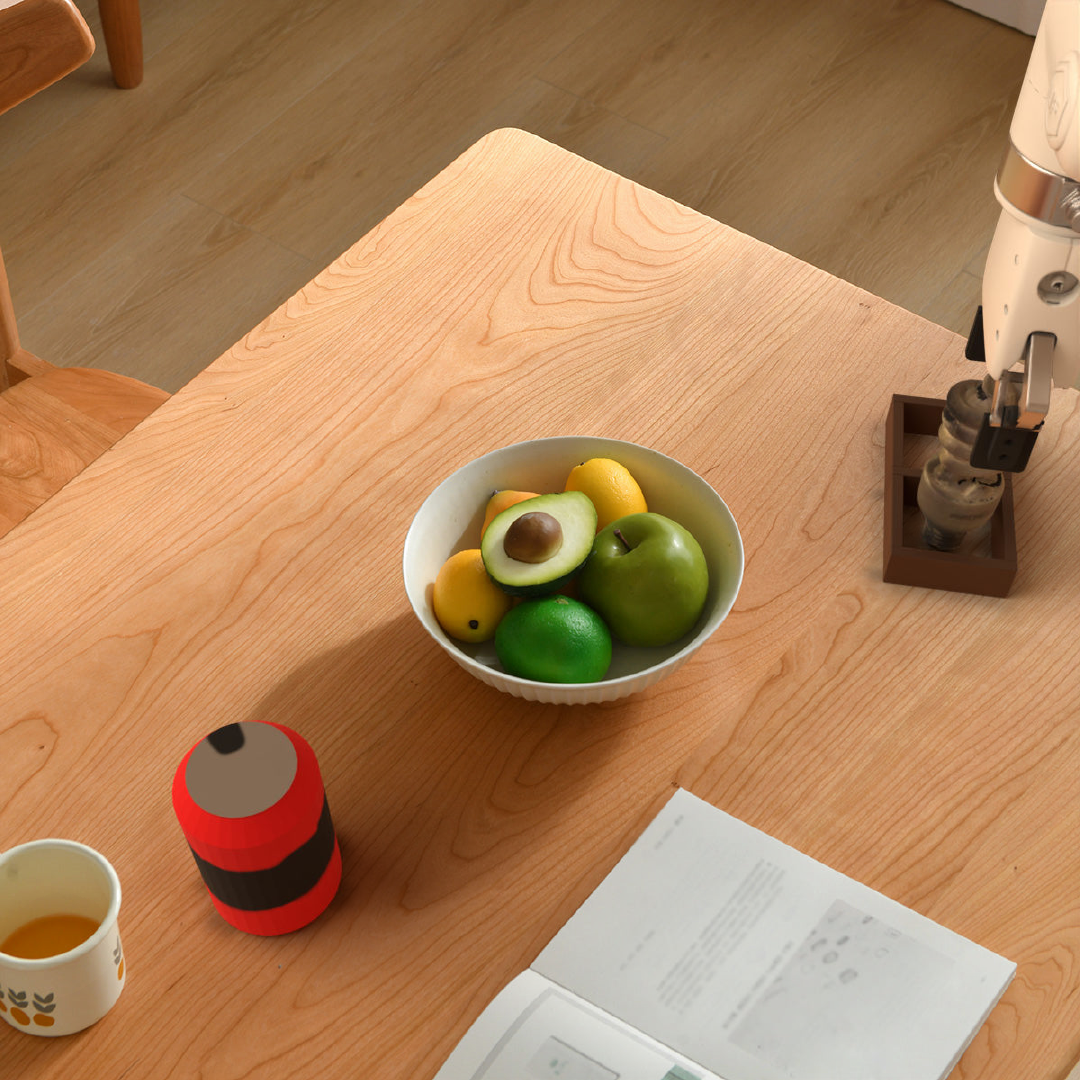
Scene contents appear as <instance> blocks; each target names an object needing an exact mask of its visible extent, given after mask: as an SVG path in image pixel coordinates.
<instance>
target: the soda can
mask: <svg viewBox="0 0 1080 1080" xmlns="http://www.w3.org/2000/svg"><path fill="white" fill-rule="evenodd" d="M171 800H172V807H173V810H174V813H175V816H176V818H177V821H178V823H179V826H180V828H181V830H182V833H183V835H184V837H185V840H186V843H187V845H188V847H189V850H190V852H191V854H192V856H193V859H194V861H195V863H196V866H197V868H198V870H199V873H200V875H201V879H202V880H203V882H204V885H205V887H206V889H207V892H208V894H209V897H210V899H211V902H212V904H213V906H214V908H215V909H216V911H217V912H218V914H219V915H220V916H221V917H222V918H223V919H224V920H225V921H226V922H227V923H228V924H229V925H231V926H232V927H234V928H235V929H237V930H239V931H241V932H244V933H247V934H249V935H255V936H260V937H261V936H262V937H268V936H270V937H271V936H272V937H273V936H279V935H285V934H289V933H292V932H294V931H296V930H299V929H301V928H304V927H305V926H307V925H308V924H310V923H312V922H313V921H314V920H316V919H317V918H318V917H320V916H321V914H322V913H323V912H325V910H326V909H327V908H328V907H329V905H330V904H331V903H332V902H333V900H334V898H335V896H336V894H337V892H338V890H339V888H340V887H339V886H340V883H341V879H342V872H343V862H342V856H341V851H340V846H339V843H338V838H337V834H336V830H335V827H334V821H333V818H332V814H331V811H330V810H331V809H330V805H329V802H328V801H329V800H328V798H327V793H326V789H325V786H324V780H323V777H322V773H321V769H320V765H319V761H318V758H317V756H316V753H315V751H314V749H313V747H312V746H311V745H310V743H309V742H308V741H307V740H306V738H305V737H303V736H302V735H301V734H299V733H298V732H297V731H296V730H294V729H292V728H290V727H289V726H287V725H283V724H280V723H277V722H275V721H269V720H261V719H257V720H256V719H255V720H254V719H253V720H242V721H237V722H231V723H229V724H226V725H224V726H221V727H219V728H217V729H215V730H213V731H211V732H210V733H208V734H206V735H205V736H203V737H202V738H201V739H199V740H198V741H197V742H196V743H195V744H193V746H192V747H190V749H189V750H188V751H187V752H186V754H185V755H184V756H183V758H182V759H181V761H180V763H179V764H178V766H177V768H176V772H175V774H174V776H173V779H172V787H171Z"/></svg>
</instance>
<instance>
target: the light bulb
mask: <svg viewBox="0 0 1080 1080" xmlns="http://www.w3.org/2000/svg"><path fill="white" fill-rule="evenodd" d="M995 382H996V380H994V379H993V378H992V377H991V376H990V374H989V373H988V372H987V374H985V376H984V378H983V380H982V379H974V378H969V379H965V380H961V381H958V382H957V383H956V382H955V384H953V385H952V386H951V387H950V388H949V390H948V392H947V394H946V399H945V400H946V402H947V405H946V406H945V408H944V410H943V413H942V421H943V423H942V424H941V426H940V428H939V432H938V436H937V437H938V440H939V442H940V444H941V446H942V448H941V450H940V451H939V452H937V453H936V454H934V455H932V456H931V457H930V458H929V459H928V460H927V461H926V462H925V464H924V467H923V468H922V470H923V472H922V475H921V480H920V483H919V487H918V494H917V500H918V504H919V506H918V507H919V509H920V511H921V513H922V514H923V516H924V518H925V520H924V522H923V525H922V527H921V531H920V534H921V538H922V540H923V541H924V542H925V543H926V544H928V545H931V546H933V547H936V548H937V549H939V550H941V551H954V550H956V549H958V548H960V547H961V546H962V544H963V542H964V539H965V537H966V536H967V534H968V533H969V532H972V531H974V530H976V529H978V528H980V527H982V526H984V525H985V524H986V523H987V522H988V521H990V517H991V516H992V515H993V513H994V511H995V509H996V507H997V505H998V503H999V501H1000V499H1001V496H1002V494H1003V491H1004V487H1005V483H1004V476H1003V474H1002V472H1003V471H996V470H988V469H980V468H973V467H971V466H970V454H971V451H972V448H973V445H974V442H975V439H976V436H977V433H978V430H979V427H980V424H981V421H982V418H983V415H984V412H986V413H989V412H991V407H992V401H993V395H994V388H995ZM1022 390H1023V384H1022V383H1013V382H1009V386H1008V392H1007V398H1006V404H1005V406H1009V405H1016V406H1018V401H1019V400H1020V398H1021V395H1022Z"/></svg>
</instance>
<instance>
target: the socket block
mask: <svg viewBox="0 0 1080 1080" xmlns="http://www.w3.org/2000/svg"><path fill="white" fill-rule="evenodd" d="M946 405H947V402H946V399H943V398H933V397H927V396H917V395H910V394H908V395H907V394H900V393H892V396H891V401H890V404H889V407H888V411H887V416H886V419H885V422H884V423H885V425H884V427H885V428H884V429H885V431H884V432H885V435H884V484H883V485H884V487H883V489H884V491H883V492H884V494H883V531H882V532H883V534H882V536H883V537H882V539H883V541H882V542H883V543H882V549H883V550H882V583H888V584H895V585H903V586H910V587H917V588H925V589H931V590H932V589H933V590H939V591H948V592H954V593H962V594H970V595H977V596H983V597H984V596H986V597H993V598H999V599H1007V597H1008V595H1009V592H1010V590H1011V587H1012V585H1013V583H1014V581H1015V578H1016V576H1017V573H1018V571H1019V570H1018V569H1019V567H1018V555H1017V554H1018V552H1017V541H1016V540H1017V539H1016V538H1017V537H1016V523H1015V522H1016V521H1015V507H1014V491H1013V477H1012V475H1013V474H1012V472H1005V471H1003V472H1002V474H1003V476H1004V483H1005V487H1004V491H1003V494H1002V496H1001V499H1000V501H999V503H998V505H997V507H996V509H995V511H994V513H993V515H992V516H991V517H990V519H989V521H990V538H991V539H990V540H991V557H984V556H975V555H969V554H961V553H953V552H945V551H938V550H932V549H931V550H929V549H923V548H915V547H907V546H904V505H905V506H913V507H919V504H918V500H917V494H918V487H919V483H920V480H921V475H922V472H923V468H922V469H921V468H913V467H905V466H904V462H905V461H904V456H905V455H904V453H905V452H904V450H905V449H904V447H905V446H904V445H905V444H904V443H905V441H904V440H905V433H911V434H919V435H920V434H921V435H926V436H927V435H928V436H937V437H939V436H938V432H939V428H940V426H941V424H942V423H943V421H942V413H943V410H944V408H945V406H946Z"/></svg>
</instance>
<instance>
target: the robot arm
mask: <svg viewBox="0 0 1080 1080" xmlns="http://www.w3.org/2000/svg"><path fill="white" fill-rule="evenodd" d="M1044 5H1045V6H1044V9H1043V13H1042V16H1041V19H1040V23H1039V26H1038V30H1037V33H1036V37H1035V40H1034V44H1033V48H1032V51H1031V53H1030V58H1029V61H1028V65H1027V68H1026V71H1025V75H1024V79H1023V82H1022V85H1021V89H1020V93H1019V96H1018V99H1017V102H1016V106H1015V109H1014V114H1013V116H1012V120H1011V123H1010V127H1009V130H1008V133H1007V136H1006V140H1005V144H1004V147H1003V150H1002V154H1001V156H1000V157H1001V158H1000V160H999V165H998V167H997V171H996V174H995V177H994V180H993V193H994V196H995V198H996V201H997V202H998V203H999V204H1000V205H1001V208H1002V209H1001V212H1000V215H999V218H998V221H997V224H996V228H995V230H994V234H993V236H992V240H991V243H990V247H989V251H988V254H987V257H986V263H985V267H984V271H983V276H982V286H981V287H982V288H981V303H982V305H978V306H977V308H976V312H975V315H974V318H973V323H972V324H971V325H972V326H971V329H970V332H969V335H968V338H967V342H966V345H965V348H964V357H965V359H966V360H969V361H971V362H979V363H985V366H986V372H987V374H988V373H989V374H990V376H991V377H992V378H993V379H994V380H996V382H995V388H994V395H993V401H992V407H991V412H989V413H986V412H984V415H983V418H982V421H981V424H980V427H979V430H978V433H977V436H976V439H975V442H974V445H973V448H972V451H971V454H970V466H971V467H973V468H980V469H988V470H996V471H1005V472H1011V473H1013V474H1021V473H1023V472H1024V471H1025V470H1026V468H1027V466H1028V464H1029V462H1030V461H1029V460H1030V458H1031V455H1032V453H1033V450H1034V447H1035V445H1036V443H1037V439H1038V437H1039V434H1040V433H1041V431H1042V429H1043V426H1044V425H1045V422H1046V421H1045V418H1046V417H1047V416H1048V414H1049V412H1050V406H1051V395H1052V391H1051V390H1052V383H1053V388H1054V389H1063V390H1069V389H1070V388H1072V387H1073V386H1074V385H1075V384H1076V382H1077V380H1078V378H1079V375H1080V0H1046V2H1045V4H1044ZM1020 360H1021V361H1024V364H1023V365H1024V366H1023V367H1024V369H1023V372H1022V371H1021V372H1020V371H1012V370H1011V368H1013V367H1014V366H1015V365H1016V363H1018V362H1019V361H1020ZM1009 382H1013V383H1022V384H1023V390H1022V395H1021V398H1020V400H1019V401H1018V406H1016V405H1009V406H1005V404H1006V398H1007V392H1008V386H1009Z"/></svg>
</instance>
